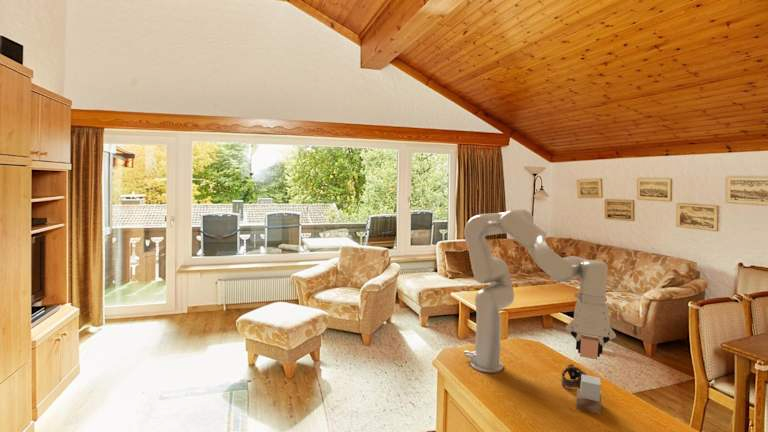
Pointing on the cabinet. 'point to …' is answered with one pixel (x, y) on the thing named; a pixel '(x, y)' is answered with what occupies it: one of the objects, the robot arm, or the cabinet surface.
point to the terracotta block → (589, 346)
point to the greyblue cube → (590, 387)
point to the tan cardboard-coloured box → (588, 404)
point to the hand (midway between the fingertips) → (588, 353)
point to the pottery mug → (572, 376)
